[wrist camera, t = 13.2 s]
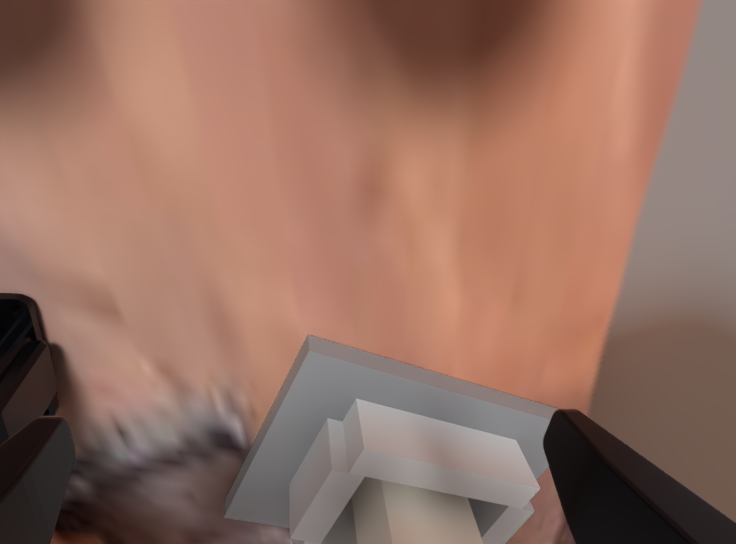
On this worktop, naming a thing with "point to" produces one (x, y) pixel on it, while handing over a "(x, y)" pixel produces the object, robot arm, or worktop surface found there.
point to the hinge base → (376, 383)
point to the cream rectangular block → (411, 515)
